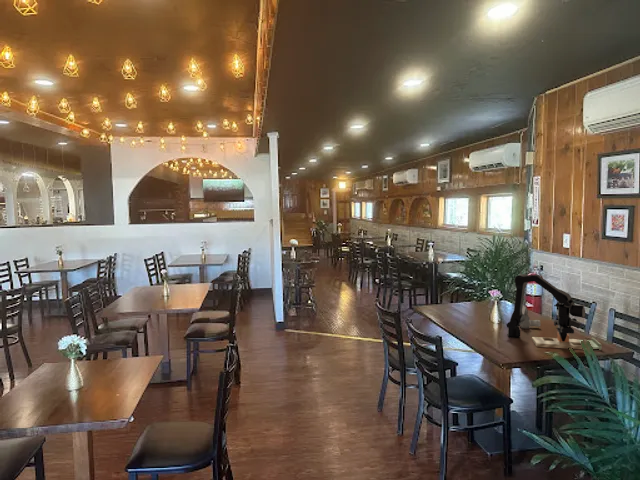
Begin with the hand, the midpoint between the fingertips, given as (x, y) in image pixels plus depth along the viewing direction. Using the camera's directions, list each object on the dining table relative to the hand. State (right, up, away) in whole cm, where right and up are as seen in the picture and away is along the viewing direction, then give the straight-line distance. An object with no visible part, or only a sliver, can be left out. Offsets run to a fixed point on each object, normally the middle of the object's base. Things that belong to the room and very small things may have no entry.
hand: (563, 341), depth 247 cm
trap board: (+2, -3, +2) cm, 4 cm away
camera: (0, -1, +40) cm, 40 cm away
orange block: (+2, -1, +4) cm, 5 cm away
